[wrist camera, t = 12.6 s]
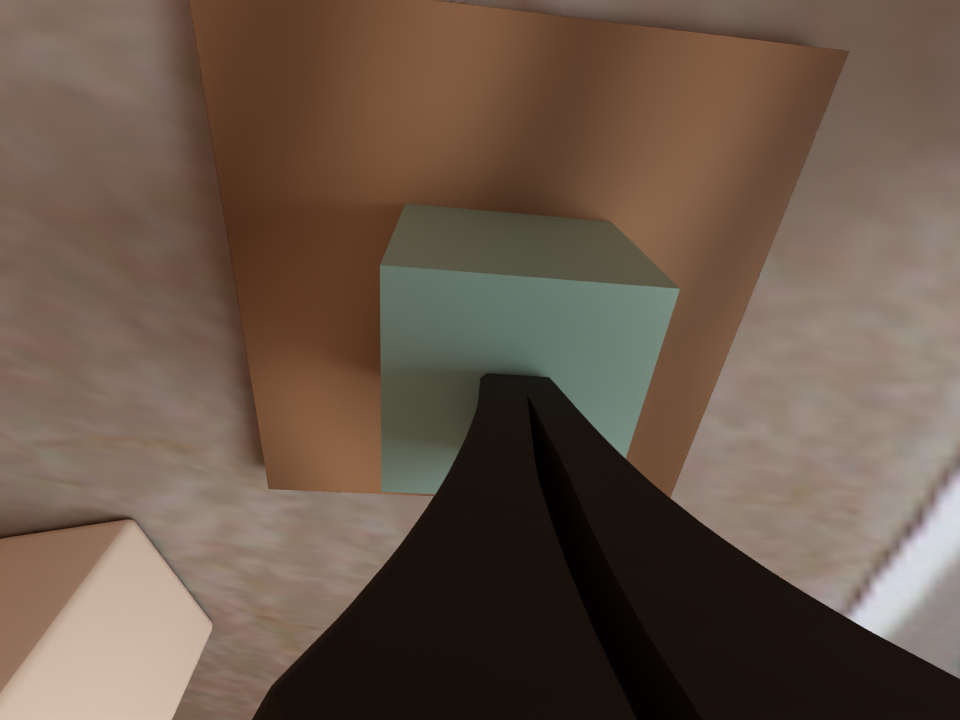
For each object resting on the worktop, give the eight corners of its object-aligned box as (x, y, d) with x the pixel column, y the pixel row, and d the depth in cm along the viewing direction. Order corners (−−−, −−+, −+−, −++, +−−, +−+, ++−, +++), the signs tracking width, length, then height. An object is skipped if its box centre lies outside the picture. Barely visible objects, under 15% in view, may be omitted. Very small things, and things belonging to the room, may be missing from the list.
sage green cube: (611, 221, 12) (680, 288, 9) (572, 391, 15) (612, 501, 11) (405, 203, 12) (379, 265, 8) (401, 381, 15) (381, 492, 11)
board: (820, 52, 12) (849, 51, 11) (657, 486, 19) (666, 505, 18) (206, -22, 11) (183, -31, 10) (278, 468, 18) (268, 488, 17)
